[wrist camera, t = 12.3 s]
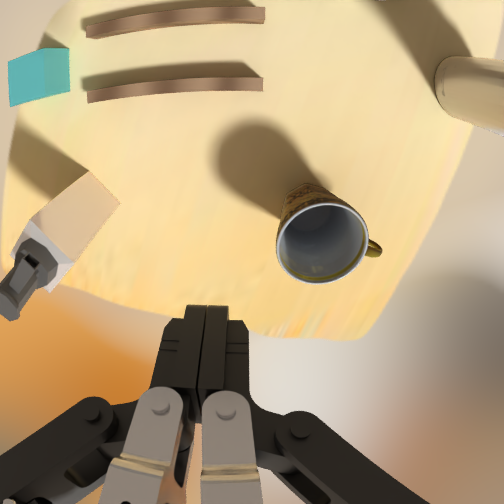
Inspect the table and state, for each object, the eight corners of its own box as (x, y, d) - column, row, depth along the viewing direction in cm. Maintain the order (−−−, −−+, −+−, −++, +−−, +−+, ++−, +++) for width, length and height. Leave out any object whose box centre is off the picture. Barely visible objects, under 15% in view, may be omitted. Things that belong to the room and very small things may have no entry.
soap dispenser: (131, 192, 38) (50, 302, 20) (95, 230, 41) (19, 341, 23) (99, 159, 36) (-8, 246, 17) (65, 200, 38) (-27, 297, 20)
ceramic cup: (261, 232, 42) (265, 277, 34) (280, 162, 37) (291, 192, 29) (348, 249, 44) (369, 293, 35) (373, 187, 39) (405, 221, 30)
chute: (263, 12, 27) (265, 7, 24) (261, 90, 32) (262, 91, 30) (97, 28, 26) (86, 26, 24) (98, 100, 32) (87, 103, 29)
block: (69, 48, 27) (43, 47, 22) (70, 91, 30) (45, 96, 25) (34, 59, 27) (8, 61, 22) (36, 99, 30) (10, 107, 25)
